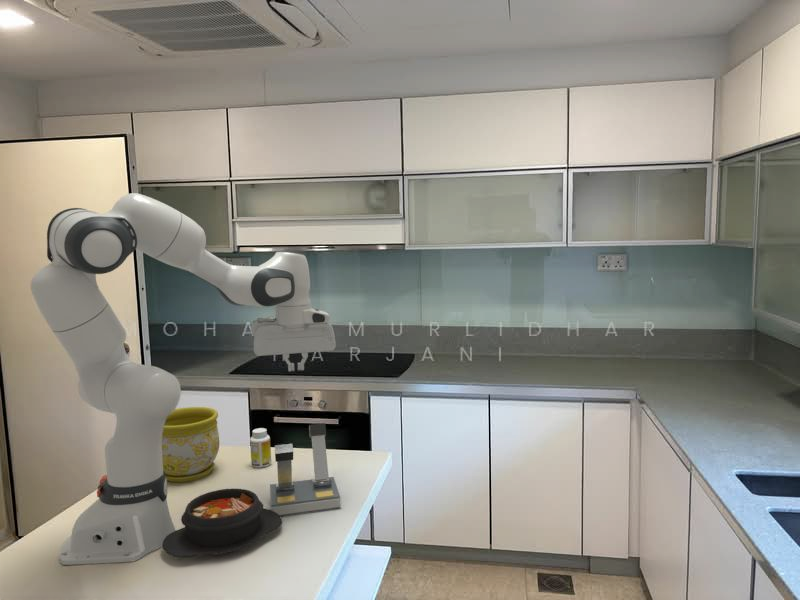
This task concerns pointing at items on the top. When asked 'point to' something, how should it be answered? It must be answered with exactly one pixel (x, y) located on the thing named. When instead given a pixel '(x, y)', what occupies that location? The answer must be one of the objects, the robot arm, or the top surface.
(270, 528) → the casserole
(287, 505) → the switch unit
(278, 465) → the lever left
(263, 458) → the supplement bottle
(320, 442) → the lever right
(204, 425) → the flowerpot
